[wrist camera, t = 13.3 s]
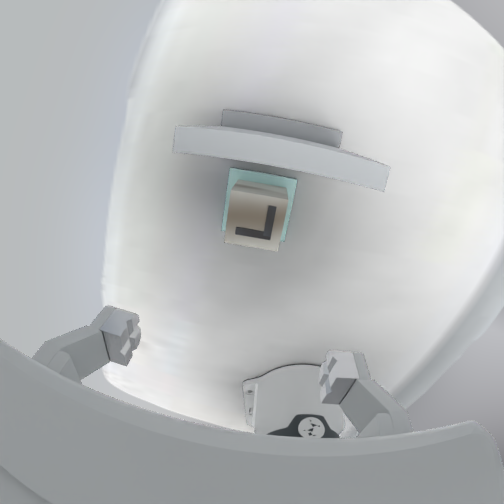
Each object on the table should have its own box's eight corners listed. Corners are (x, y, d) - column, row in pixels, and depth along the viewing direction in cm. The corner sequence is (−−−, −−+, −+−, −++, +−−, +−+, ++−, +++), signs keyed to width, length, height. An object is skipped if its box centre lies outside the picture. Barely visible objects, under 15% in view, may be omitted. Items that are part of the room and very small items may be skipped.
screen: (331, 177, 27) (375, 220, 15) (217, 156, 27) (169, 182, 15) (340, 131, 25) (397, 137, 13) (224, 110, 25) (179, 95, 13)
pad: (283, 239, 31) (284, 241, 30) (222, 228, 31) (221, 230, 30) (297, 179, 28) (297, 180, 27) (230, 167, 28) (229, 168, 27)
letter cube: (277, 232, 30) (277, 252, 25) (230, 224, 30) (222, 242, 25) (286, 187, 28) (288, 200, 23) (237, 179, 28) (229, 190, 23)
